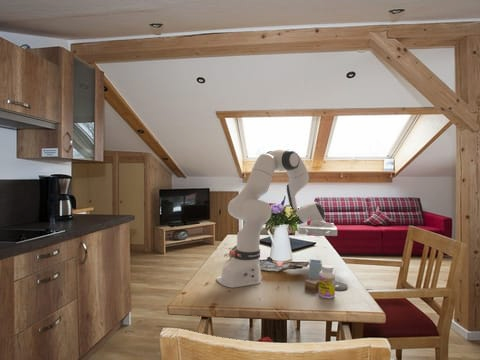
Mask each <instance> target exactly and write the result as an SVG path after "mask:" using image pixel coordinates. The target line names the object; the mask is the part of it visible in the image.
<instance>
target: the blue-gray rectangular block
mask: <svg viewBox="0 0 480 360" xmlns="http://www.w3.org/2000/svg"><path fill="white" fill-rule="evenodd" d="M308 263H309V267H308V270H309V272H308V279H310V278H313V279H316V280H319V273H320V271H322V265H323V262H322V260H320V259H309V262H308Z"/></svg>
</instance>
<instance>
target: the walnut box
mask: <svg viewBox="0 0 480 360" xmlns="http://www.w3.org/2000/svg"><path fill="white" fill-rule="evenodd" d="M304 290H306V291H308V292H312V293H317V292H319V280H316V279H313V278H310V279H309V278H307V279H305V281H304Z"/></svg>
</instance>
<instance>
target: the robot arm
mask: <svg viewBox="0 0 480 360" xmlns="http://www.w3.org/2000/svg"><path fill="white" fill-rule="evenodd" d="M306 166H307V165H306V164H305V163H304V160H303V159H302V157H301V156H300V155H299V154H298V152H296V150H293V149H282V150H281V149H278V150H270V151H267V152H265V153H261V154H260V155H259V156H258V157H257V159H256V161H255V162H254V165H253V167H252V169H251V172H250V174H249V176H248V179H247V181H246V184H245V185H244V187H243V188H242V190H241V191H240V192H239V194H237V195H236V196H235V197H234V198H232V199H231V200H230V201H229V202H228V205H227V211H228V215H230V216H231V217H233V218H234V219H236V220H240V221H243V222H244V224H243V226H242V228H241V229H240V230H239V231H238V232H237V233H236V249H235V250H231V249H230V250H229V254H230V255H231V256H233V257H232V258H231V259H230V260H229V261H228V262H226V264H225V265H223V267H222V270H221V275H219V276H217V277H216V282H218V283H219V284H220V285H222V286H224V287H226V288H239V287H240V288H241V287H247V286H254V285H259V284H261V282H262V281H261V280H262V279H263V276H262V271H261V263H260V262H261V261H260V258H261V249H260V241H261V238H260V237H261V232H262V229H263V227H264V225H265V224H266V223H267V222H268V221H269V220H270V219H271V217H272V207H271V205H270V204H269V203H268V202H266V201H263V200H261V199H260V198H261V197H262V196H264V195H265V194H267V193H268V191H269V188H270V186H271V184H272V183H271V182H272V180H273V177H274V174H275V171H279V172H284V171H285V172H286V175H287V177H288V184H287V185H286V194H287V199H288V203H289V207H290V206H291V207H292V208H294V209H295V210H297V211H296V212H297V214H296V216H299V222H297V225H299V226H298V234H300V235H307V236H310V235H312V236H314V237H323V236H325V237H329V236H332V237H337V236H338V228H337V226H336V225H335V223H333V222H328V221H325V215H326V214H325V211H324V208H323V206H322V205H321V204H320V203H319V202H317V201H312V202H310V203H307V204H303V205H301V206H298V205H297V200H296V195H297V194H299V192H300V191H302V189H303V188H304V187H306V186H307V184H308V183H309V181H310V175H309V171H308V170H307V167H306ZM301 207H302V208H301ZM298 208H299V209H298ZM307 222H310V223H309V224H304V223H307Z"/></svg>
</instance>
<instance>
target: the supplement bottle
mask: <svg viewBox="0 0 480 360" xmlns="http://www.w3.org/2000/svg"><path fill="white" fill-rule="evenodd" d="M335 281H336V274H335V272H334V266H333V265H331V264H322V271H320V273H319V291H318V295H319V297H321V298H323V299H327V300H328V299H333V298H335V294H336V293H335V292H336V290H335Z"/></svg>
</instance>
